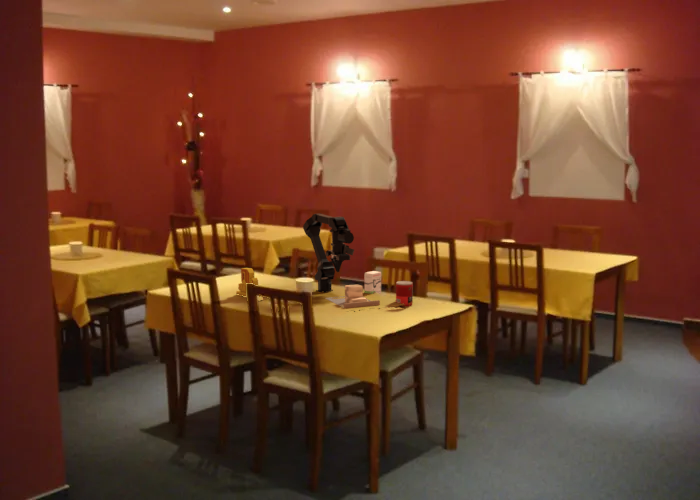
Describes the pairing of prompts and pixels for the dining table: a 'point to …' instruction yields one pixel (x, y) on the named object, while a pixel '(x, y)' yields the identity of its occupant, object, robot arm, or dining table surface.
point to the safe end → (360, 304)
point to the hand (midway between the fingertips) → (337, 271)
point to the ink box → (372, 282)
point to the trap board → (338, 300)
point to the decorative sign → (246, 280)
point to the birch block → (354, 294)
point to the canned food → (404, 292)
